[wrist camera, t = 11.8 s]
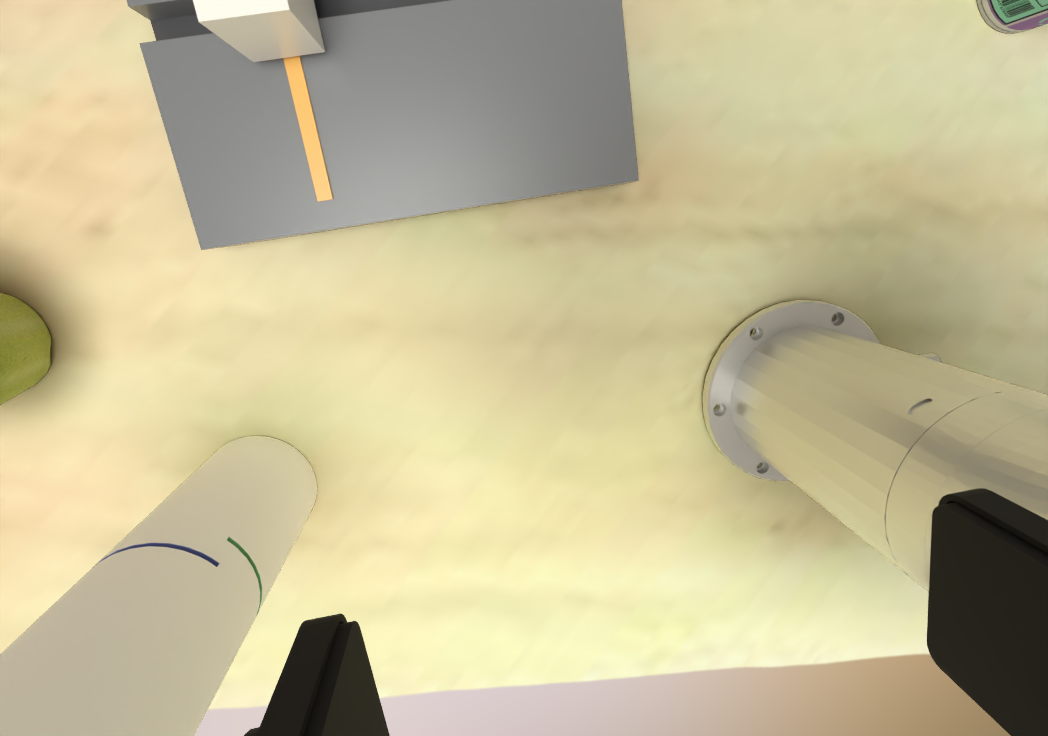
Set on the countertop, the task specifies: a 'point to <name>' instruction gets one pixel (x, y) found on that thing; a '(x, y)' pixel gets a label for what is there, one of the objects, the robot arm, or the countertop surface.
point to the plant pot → (21, 347)
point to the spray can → (1014, 14)
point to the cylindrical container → (163, 604)
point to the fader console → (392, 112)
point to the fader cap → (264, 26)
